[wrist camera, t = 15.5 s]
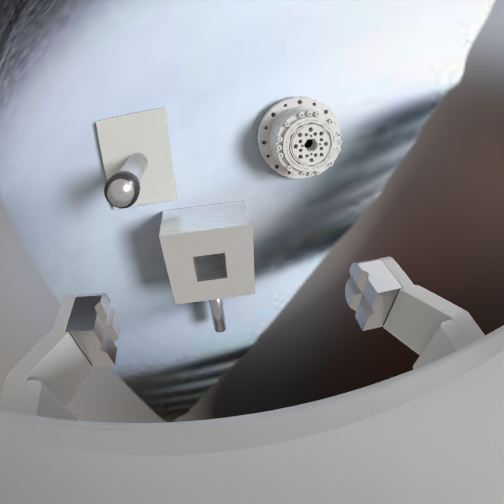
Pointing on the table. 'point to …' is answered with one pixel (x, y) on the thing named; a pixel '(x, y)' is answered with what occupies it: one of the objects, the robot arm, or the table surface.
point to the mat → (140, 151)
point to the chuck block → (209, 254)
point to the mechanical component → (299, 137)
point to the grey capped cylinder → (126, 182)
